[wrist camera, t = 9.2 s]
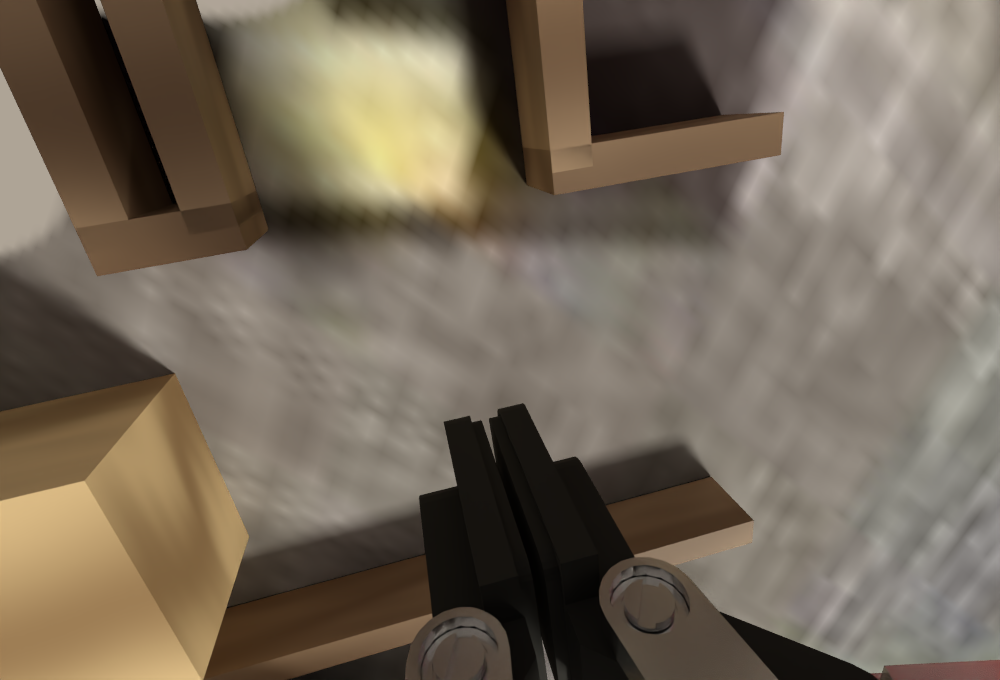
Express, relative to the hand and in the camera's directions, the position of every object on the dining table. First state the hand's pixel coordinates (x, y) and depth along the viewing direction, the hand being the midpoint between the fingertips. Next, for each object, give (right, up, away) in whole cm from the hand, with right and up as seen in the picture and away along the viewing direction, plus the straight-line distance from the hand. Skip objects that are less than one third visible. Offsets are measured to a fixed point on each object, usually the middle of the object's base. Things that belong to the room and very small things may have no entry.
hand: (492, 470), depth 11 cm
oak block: (-11, -2, +5) cm, 12 cm away
